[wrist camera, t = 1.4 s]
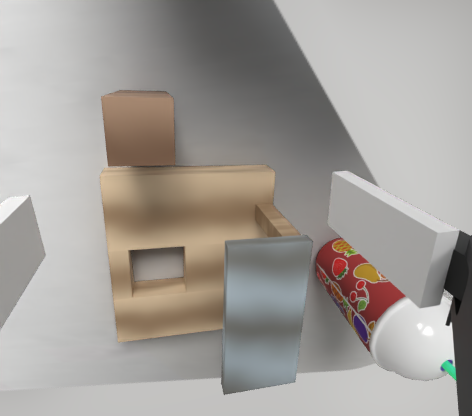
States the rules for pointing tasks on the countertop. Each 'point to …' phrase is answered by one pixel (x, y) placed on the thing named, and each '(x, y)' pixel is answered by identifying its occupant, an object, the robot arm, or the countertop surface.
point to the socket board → (211, 265)
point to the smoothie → (387, 316)
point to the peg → (139, 128)
